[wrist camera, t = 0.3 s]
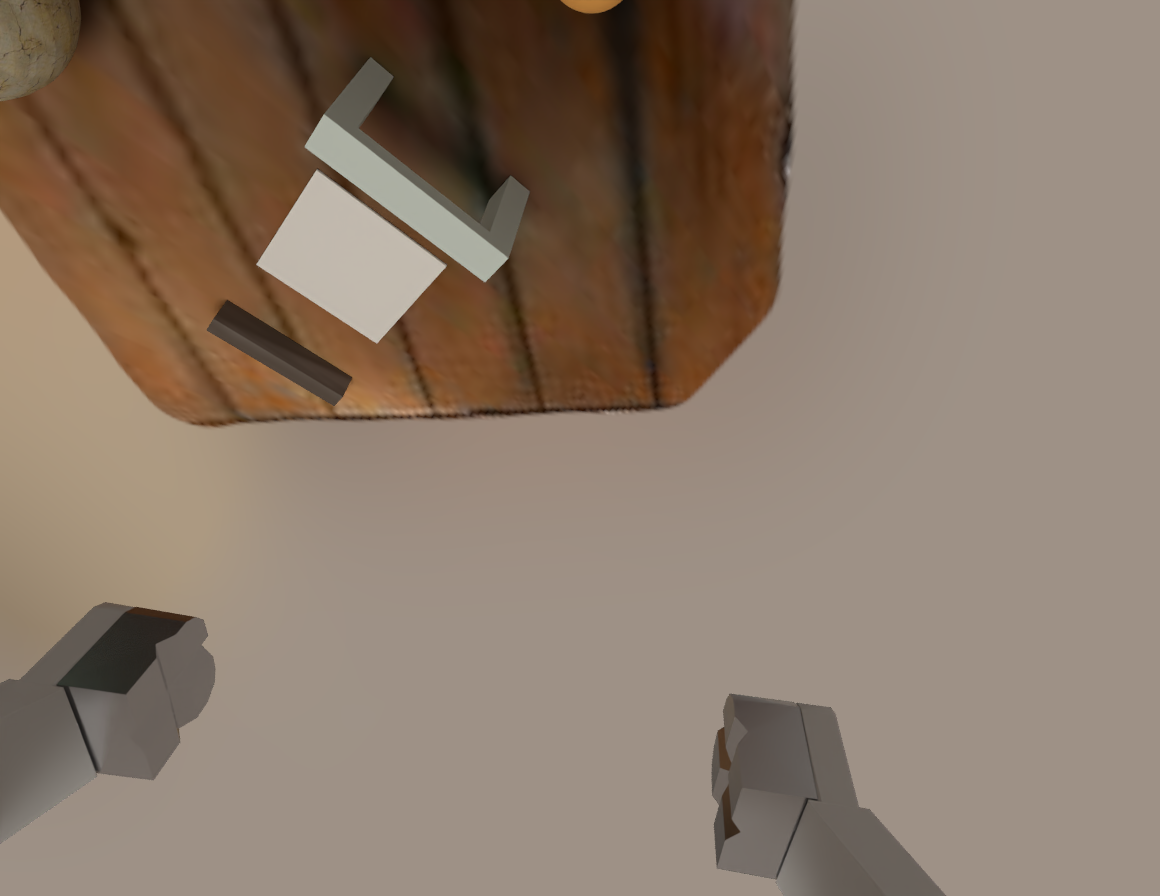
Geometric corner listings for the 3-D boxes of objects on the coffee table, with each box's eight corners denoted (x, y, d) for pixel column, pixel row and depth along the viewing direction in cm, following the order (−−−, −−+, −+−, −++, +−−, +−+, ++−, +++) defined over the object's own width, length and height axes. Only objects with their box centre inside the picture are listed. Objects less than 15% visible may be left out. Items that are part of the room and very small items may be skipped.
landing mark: (317, 168, 61) (316, 169, 60) (446, 265, 66) (446, 266, 66) (257, 263, 68) (256, 264, 68) (377, 342, 74) (376, 343, 74)
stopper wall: (227, 300, 72) (213, 318, 70) (352, 377, 78) (342, 396, 76) (220, 311, 73) (206, 330, 71) (343, 386, 79) (334, 406, 77)
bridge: (370, 56, 53) (324, 114, 47) (529, 191, 60) (508, 258, 53) (351, 87, 55) (304, 146, 49) (508, 215, 62) (485, 282, 55)
